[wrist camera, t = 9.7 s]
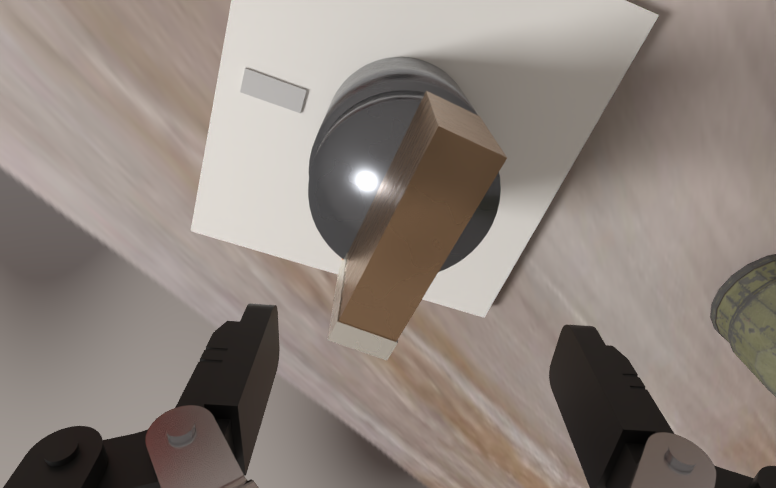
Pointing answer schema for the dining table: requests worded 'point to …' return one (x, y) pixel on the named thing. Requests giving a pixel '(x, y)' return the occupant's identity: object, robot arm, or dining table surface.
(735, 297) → the thermos
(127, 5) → the dining table surface
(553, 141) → the lock base
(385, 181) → the lock lever handle
